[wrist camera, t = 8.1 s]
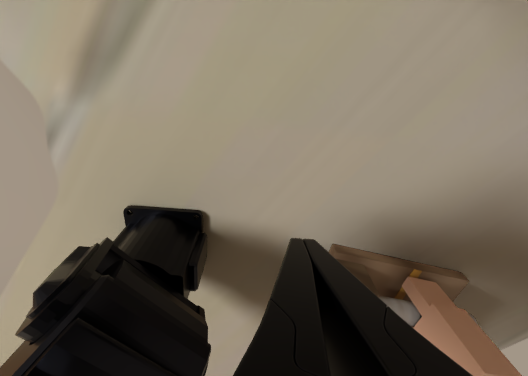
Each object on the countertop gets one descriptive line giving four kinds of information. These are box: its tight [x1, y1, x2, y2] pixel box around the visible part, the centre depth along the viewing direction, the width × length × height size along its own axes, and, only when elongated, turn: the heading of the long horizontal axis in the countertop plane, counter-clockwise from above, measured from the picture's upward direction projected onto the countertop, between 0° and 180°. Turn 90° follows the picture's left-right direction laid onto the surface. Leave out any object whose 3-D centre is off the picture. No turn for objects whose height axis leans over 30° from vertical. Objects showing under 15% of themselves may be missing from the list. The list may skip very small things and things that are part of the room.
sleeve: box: [402, 277, 522, 376], centre depth 21 cm, size 3×6×8 cm, turn 165°
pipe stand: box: [329, 244, 478, 327], centre depth 24 cm, size 14×6×5 cm, turn 74°
